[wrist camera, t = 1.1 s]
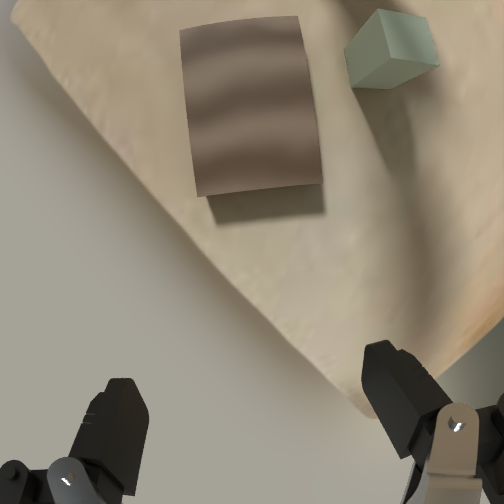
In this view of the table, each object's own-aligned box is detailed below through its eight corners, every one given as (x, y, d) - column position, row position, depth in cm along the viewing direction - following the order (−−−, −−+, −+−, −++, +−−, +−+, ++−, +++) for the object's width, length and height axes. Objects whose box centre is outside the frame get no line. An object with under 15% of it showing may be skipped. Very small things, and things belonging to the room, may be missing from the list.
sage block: (343, 49, 26) (377, 8, 16) (382, 52, 26) (426, 18, 15) (350, 87, 28) (391, 57, 17) (389, 89, 27) (439, 65, 17)
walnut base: (187, 43, 26) (179, 30, 22) (293, 31, 26) (297, 16, 22) (204, 193, 31) (197, 197, 28) (314, 180, 31) (322, 183, 27)
